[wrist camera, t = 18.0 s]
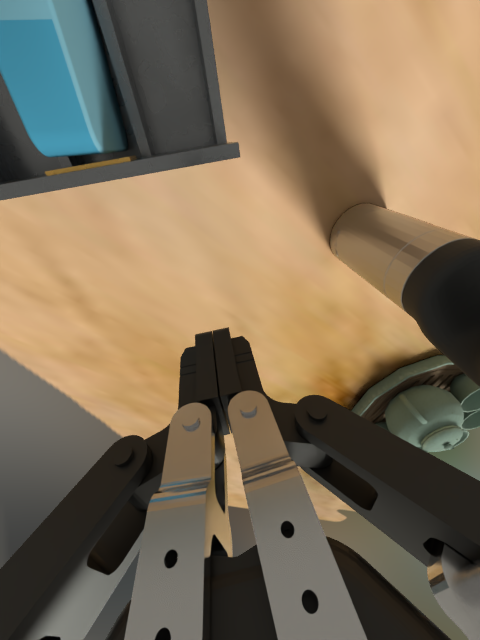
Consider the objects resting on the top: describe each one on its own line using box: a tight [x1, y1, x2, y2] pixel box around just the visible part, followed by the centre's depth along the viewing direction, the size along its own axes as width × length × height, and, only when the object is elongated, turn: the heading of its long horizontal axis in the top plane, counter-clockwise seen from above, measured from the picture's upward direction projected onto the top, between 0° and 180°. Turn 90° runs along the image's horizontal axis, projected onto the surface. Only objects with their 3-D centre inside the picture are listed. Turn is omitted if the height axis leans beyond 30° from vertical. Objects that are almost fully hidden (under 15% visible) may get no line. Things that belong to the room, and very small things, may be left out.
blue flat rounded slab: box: [0, 0, 128, 157], centre depth 20 cm, size 12×4×12 cm, turn 3°
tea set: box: [351, 355, 480, 453], centre depth 68 cm, size 40×40×16 cm
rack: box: [0, 0, 240, 200], centre depth 21 cm, size 25×16×14 cm, turn 98°
